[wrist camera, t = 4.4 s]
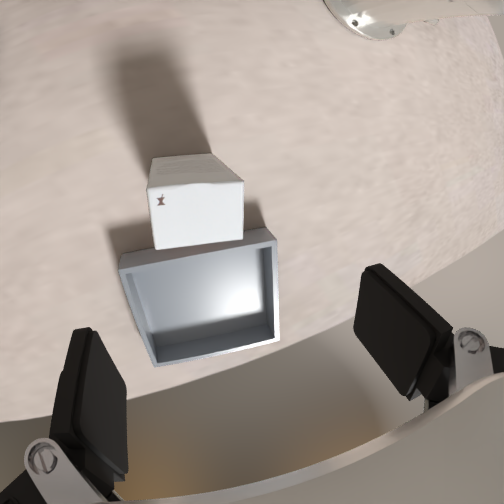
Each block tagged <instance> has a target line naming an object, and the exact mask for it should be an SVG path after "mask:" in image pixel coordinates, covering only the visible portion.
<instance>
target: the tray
mask: <svg viewBox="0 0 504 504" xmlns="http://www.w3.org/2000/svg"><path fill="white" fill-rule="evenodd" d="M118 272H119V275H120V278H121V281H122V284H123V287H124V290H125V293H126V296H127V299H128V302H129V305H130V308H131V310H132V313H133V316H134V319H135V321H136V324H137V327H138V329H139V332H140V334H141V337H142V340H143V342H144V345H145V347H146V349H147V352H148V354H149V357H150V359H151V361H152V364H153V366H154V367H160V366H166V365H171V364H177V363H182V362H187V361H193V360H198V359H203V358H207V357H212V356H217V355H221V354H226V353H230V352H235V351H239V350H243V349H248V348H252V347H256V346H260V345H264V344H268V343H272V342H275V341H279V293H278V255H277V239H276V238H275V237H274V236H273V235H272V233H271V232H270V231H269V230H268V229H267V227H264V228H258V229H252V230H246V231H243V239H242V240H232V241H223V242H215V243H207V244H200V245H192V246H184V247H176V248H168V249H160V250H156V249H155V248H149V249H144V250H139V251H134V252H129V253H124V254H122V255H121V259H120V263H119V268H118Z"/></svg>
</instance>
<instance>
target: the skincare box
mask: <svg viewBox="0 0 504 504" xmlns="http://www.w3.org/2000/svg"><path fill="white" fill-rule="evenodd" d="M146 192H147V199H148V207H149V215H150V222H151V229H152V236H153V242H154V248H155V249H156V250H160V249H168V248H176V247H184V246H192V245H200V244H207V243H215V242H223V241H232V240H242V239H243V219H244V180H242V179H241V178H240V177H239V176H238V175H236V174H235V173H234V172H233V171H232V170H231V169H229V168H228V167H227V166H226V165H225V164H224V163H223V162H221V161H220V160H219V159H218V158H217V157H216V156H215V155H213V154H212V153H208V154H193V155H180V156H169V157H159V158H153V159H152V164H151V168H150V174H149V179H148V184H147V188H146Z"/></svg>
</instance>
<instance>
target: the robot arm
mask: <svg viewBox="0 0 504 504" xmlns="http://www.w3.org/2000/svg"><path fill="white" fill-rule="evenodd" d="M324 1H325V3H326V5H327V7H328V8H329V10H330V11H331V13H332V14H333V15H334V16H335V17H336V18H337V19H338V21H340V22H341V23H342V24H343V25H344V26H345V27H346V28H348V29H349V30H351V31H352V32H354V33H355V34H357V35H359V36H361V37H364V38H367V39H370V40H378V41H380V40H388V39H392V38H395V37H396V36H398V35H399V34H400V33H401V32H402V31H403V30H404V28H405V27H406V24H407V23H413V22H419V21H424V22H426V23H429V24H431V25H436V24H438V22H439V19H442V18H452V17H464V16H487V15H502V14H504V0H324ZM353 328H354V332H355V335H356V336H357V338H358V339H359V340H360V341H361V343H362V344H363V345H364V346H365V348H366V349H367V351H368V352H369V353H370V354H371V356H372V357H373V358H374V360H375V361H376V362H377V364H378V365H379V366H380V368H381V369H382V370H383V372H384V373H385V374H386V376H387V377H388V378H389V380H390V381H391V382H392V383H393V385H394V386H395V387H396V389H397V390H398V391H399V393H400V394H401V395H403V396H406V397H407V399H408V400H409V401H411V400H413V399H414V398H416V397H418V396H420V395H421V394H422V395H423V396H424V410H423V413H422V414H420V415H419V416H417V417H415V418H414V419H412V420H410V421H408V422H406V423H405V424H403V425H401V426H399V427H397V428H395V429H394V430H392V431H390V432H388V433H386V434H384V435H382V436H380V437H378V438H376V439H374V440H372V441H369V442H367V443H365V444H363V445H361V446H359V447H356V448H354V449H352V450H349V451H347V452H345V453H342V454H340V455H338V456H335V457H333V458H330V459H327V460H325V461H322V462H320V463H317V464H314V465H311V466H309V467H306V468H303V469H300V470H297V471H294V472H290V473H287V474H284V475H281V476H277V477H274V478H270V479H267V480H263V481H259V482H256V483H251V484H247V485H243V486H238V487H234V488H229V489H225V490H219V491H213V492H208V493H201V494H195V495H188V496H180V497H171V498H162V499H150V500H134V501H124V500H123V499H122V498H121V497H120V496H119V495H118V494H117V493H116V492H115V491H114V482H117V481H125V475H124V474H127V473H128V453H127V423H126V396H127V390H126V385H125V382H124V380H123V378H122V377H121V375H120V373H119V371H118V370H117V368H116V366H115V364H114V363H113V361H112V359H111V357H110V355H109V353H108V352H107V350H106V348H105V346H104V344H103V342H102V340H101V338H100V336H99V334H98V332H97V331H93V330H92V329H91V328H90V327H87V328H81V329H75V330H74V331H73V333H72V337H71V341H70V344H69V348H68V352H67V356H66V360H65V365H64V369H63V371H62V372H61V374H60V378H59V382H58V387H57V392H56V397H55V403H54V408H53V414H52V420H51V427H50V435H49V438H40V439H37V440H35V441H33V442H32V443H31V444H30V445H29V446H28V448H27V450H26V452H25V456H24V463H25V467H26V470H25V471H24V472H23V473H22V474H20V475H19V476H18V477H17V478H16V479H15V480H14V481H13V482H12V483H11V484H10V485H9V486H7V487H6V488H5V489H4V490H3V491H2V492H1V493H0V504H504V348H498V347H493V346H489V343H488V341H487V339H486V337H485V336H484V335H483V334H482V333H481V332H480V331H478V330H476V329H473V328H461V329H459V330H458V331H456V333H455V335H454V334H453V333H452V329H453V327H452V326H451V325H450V324H449V323H448V322H447V321H446V320H444V319H443V318H442V317H441V316H440V315H439V314H438V313H437V312H436V311H435V310H434V309H433V308H432V307H431V306H430V305H428V304H427V303H426V302H425V301H424V300H423V299H422V298H421V297H420V296H418V295H417V294H416V293H415V292H414V291H413V290H412V289H411V288H409V287H408V286H407V285H406V284H405V283H404V282H403V281H401V280H400V279H399V278H398V277H397V276H396V275H394V274H393V273H392V272H391V271H390V270H389V269H387V268H386V267H385V266H384V265H383V264H380V263H379V264H375V265H372V266H368V267H366V268H365V271H364V272H363V273H362V275H361V282H360V289H359V296H358V302H357V308H356V314H355V320H354V327H353Z"/></svg>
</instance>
